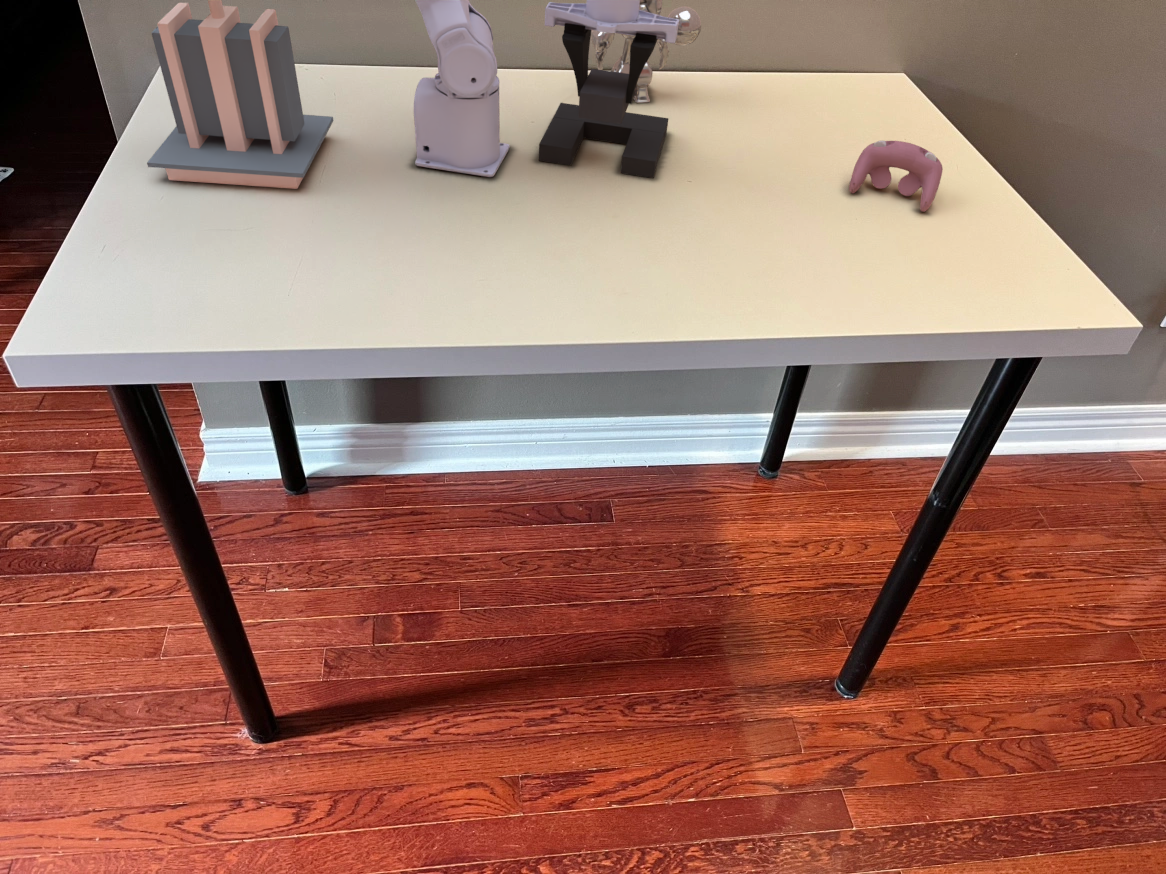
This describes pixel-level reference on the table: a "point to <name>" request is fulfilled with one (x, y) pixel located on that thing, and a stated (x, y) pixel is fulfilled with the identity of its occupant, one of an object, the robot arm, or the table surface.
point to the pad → (604, 96)
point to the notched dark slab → (606, 139)
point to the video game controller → (904, 156)
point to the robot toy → (686, 35)
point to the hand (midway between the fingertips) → (605, 96)
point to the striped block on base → (233, 101)
